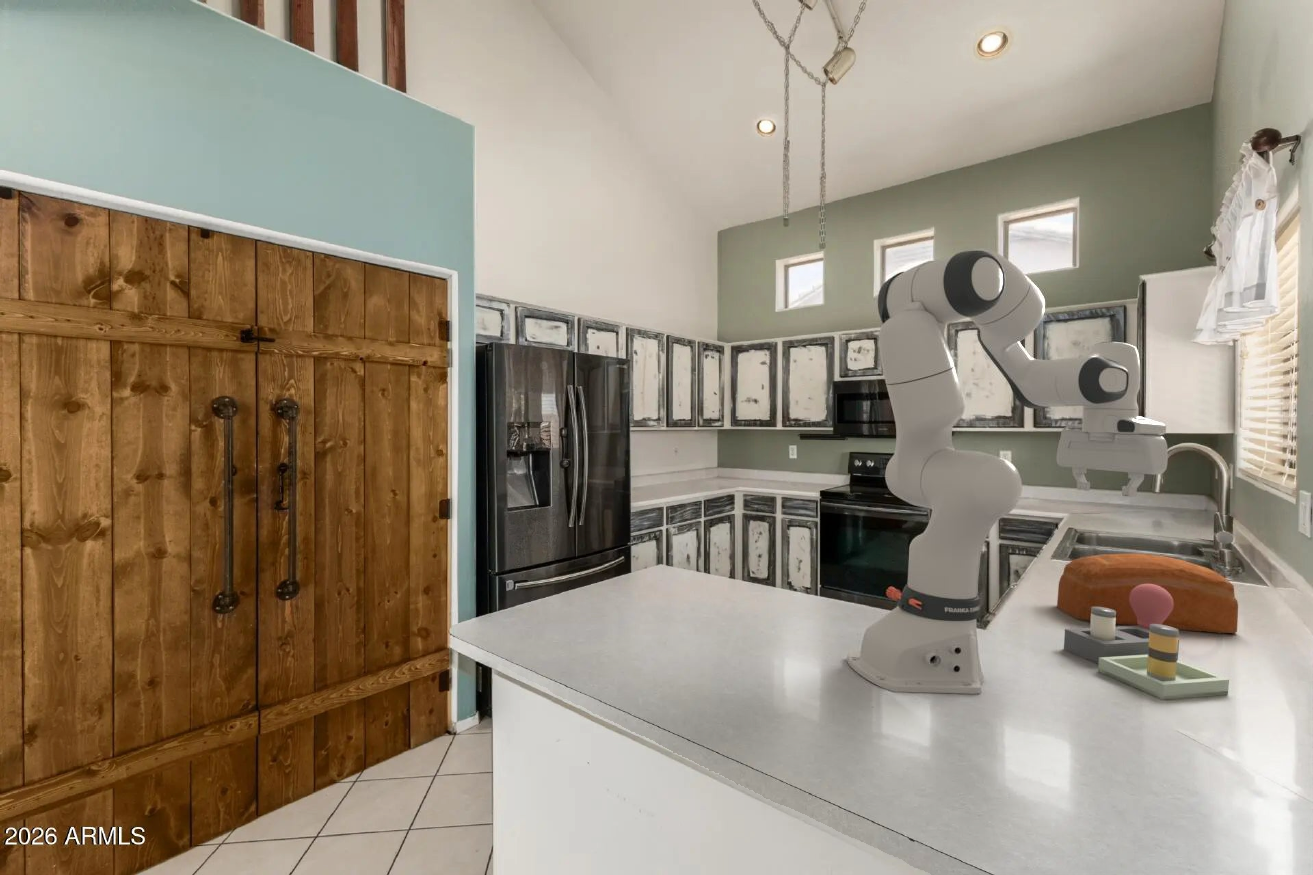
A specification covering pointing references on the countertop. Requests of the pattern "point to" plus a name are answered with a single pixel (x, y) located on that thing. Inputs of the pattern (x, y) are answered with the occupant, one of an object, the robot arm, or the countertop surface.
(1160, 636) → the cylinder
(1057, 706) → the countertop surface
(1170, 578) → the bread
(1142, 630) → the fuse holder
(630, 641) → the countertop surface
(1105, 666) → the tray
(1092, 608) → the ball
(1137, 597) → the light bulb
